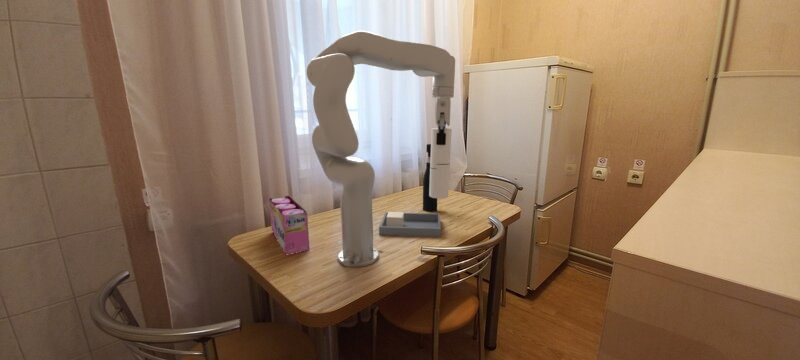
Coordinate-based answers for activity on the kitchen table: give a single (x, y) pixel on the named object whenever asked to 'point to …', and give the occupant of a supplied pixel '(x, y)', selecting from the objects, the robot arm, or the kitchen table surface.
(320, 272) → the kitchen table surface
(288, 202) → the gum box
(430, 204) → the wine bottle
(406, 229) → the tray
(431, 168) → the cylindrical container
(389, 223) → the cream box
